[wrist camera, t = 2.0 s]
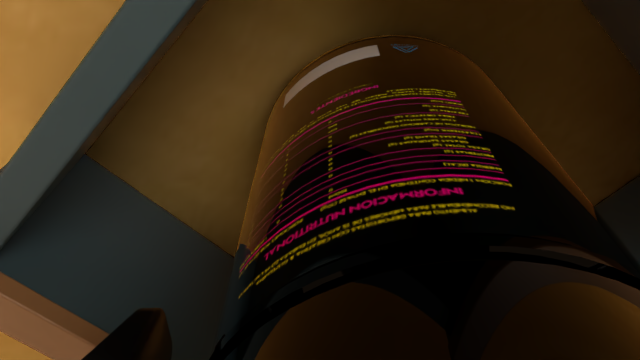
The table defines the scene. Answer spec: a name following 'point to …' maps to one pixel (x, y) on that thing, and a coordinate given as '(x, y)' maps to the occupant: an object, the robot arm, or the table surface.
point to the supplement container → (418, 225)
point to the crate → (144, 205)
